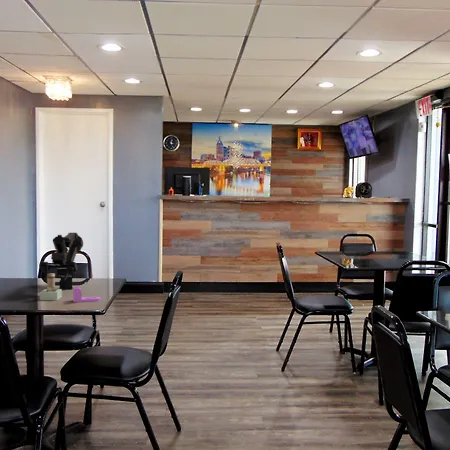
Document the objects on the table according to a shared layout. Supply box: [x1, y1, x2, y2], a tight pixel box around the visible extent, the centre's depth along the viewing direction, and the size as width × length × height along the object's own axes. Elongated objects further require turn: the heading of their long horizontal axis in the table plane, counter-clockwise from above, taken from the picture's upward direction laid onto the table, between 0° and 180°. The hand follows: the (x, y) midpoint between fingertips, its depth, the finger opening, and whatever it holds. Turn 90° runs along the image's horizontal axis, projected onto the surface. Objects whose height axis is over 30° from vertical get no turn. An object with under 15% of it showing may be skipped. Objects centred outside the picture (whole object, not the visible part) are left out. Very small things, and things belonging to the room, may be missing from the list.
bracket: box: [72, 285, 101, 303], centre depth 251 cm, size 13×6×7 cm, turn 107°
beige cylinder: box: [46, 272, 56, 292], centre depth 255 cm, size 4×4×12 cm
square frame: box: [39, 288, 63, 301], centre depth 255 cm, size 8×8×4 cm
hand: (55, 279), depth 262 cm, fingers open, 9 cm apart
